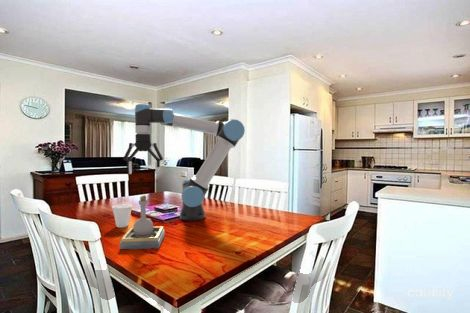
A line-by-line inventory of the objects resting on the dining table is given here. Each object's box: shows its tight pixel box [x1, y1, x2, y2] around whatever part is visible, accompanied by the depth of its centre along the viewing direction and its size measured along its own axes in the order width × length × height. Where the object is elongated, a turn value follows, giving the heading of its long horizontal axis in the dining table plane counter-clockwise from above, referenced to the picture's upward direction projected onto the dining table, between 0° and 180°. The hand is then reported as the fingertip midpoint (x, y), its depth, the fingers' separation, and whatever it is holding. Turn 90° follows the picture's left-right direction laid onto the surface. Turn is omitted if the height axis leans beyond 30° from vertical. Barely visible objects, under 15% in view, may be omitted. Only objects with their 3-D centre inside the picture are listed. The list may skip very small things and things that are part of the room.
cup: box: [111, 203, 133, 229], centre depth 141 cm, size 10×10×11 cm
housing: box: [119, 226, 166, 250], centre depth 118 cm, size 16×16×4 cm
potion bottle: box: [132, 194, 155, 238], centre depth 118 cm, size 9×9×18 cm
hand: (143, 173), depth 139 cm, fingers open, 13 cm apart
